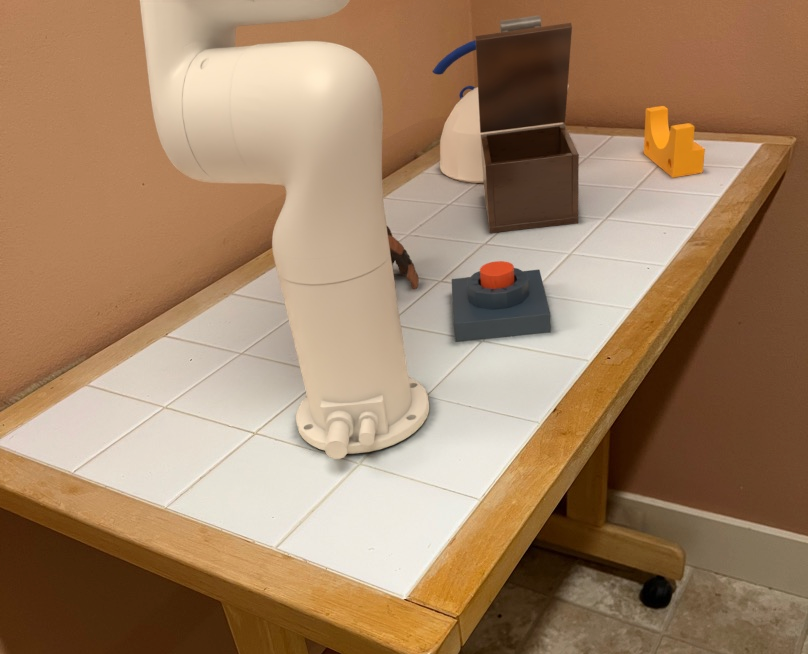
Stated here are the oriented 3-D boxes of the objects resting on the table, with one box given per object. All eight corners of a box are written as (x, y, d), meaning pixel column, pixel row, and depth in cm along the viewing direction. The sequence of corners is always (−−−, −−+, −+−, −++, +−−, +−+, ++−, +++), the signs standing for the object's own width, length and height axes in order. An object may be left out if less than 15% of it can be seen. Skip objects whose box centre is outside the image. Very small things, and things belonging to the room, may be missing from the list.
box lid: (572, 27, 97) (567, -2, 99) (475, 40, 99) (472, 11, 100) (565, 122, 111) (561, 95, 113) (480, 133, 112) (477, 106, 114)
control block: (550, 332, 84) (550, 297, 82) (455, 342, 86) (451, 308, 83) (539, 287, 93) (539, 254, 91) (453, 296, 94) (450, 263, 92)
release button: (515, 288, 85) (515, 273, 84) (481, 292, 86) (480, 277, 85) (513, 274, 88) (512, 259, 87) (480, 278, 89) (478, 263, 88)
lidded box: (578, 223, 106) (578, 153, 101) (489, 233, 107) (485, 165, 102) (565, 187, 117) (564, 123, 111) (484, 197, 118) (480, 134, 112)
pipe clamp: (702, 172, 114) (707, 124, 110) (672, 177, 114) (676, 129, 110) (671, 148, 124) (674, 103, 120) (643, 153, 124) (645, 108, 120)
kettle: (556, 182, 119) (555, 45, 107) (423, 185, 125) (408, 56, 114) (579, 139, 133) (580, 14, 122) (458, 143, 140) (448, 25, 129)
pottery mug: (423, 303, 95) (381, 254, 89) (360, 336, 99) (316, 292, 94) (425, 238, 102) (387, 190, 96) (366, 272, 106) (326, 228, 101)
